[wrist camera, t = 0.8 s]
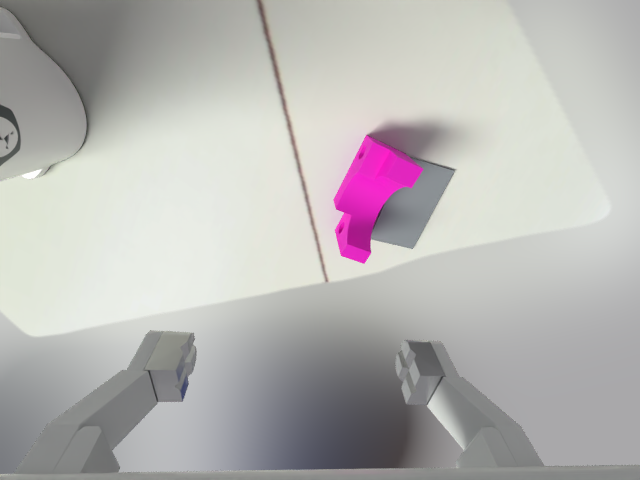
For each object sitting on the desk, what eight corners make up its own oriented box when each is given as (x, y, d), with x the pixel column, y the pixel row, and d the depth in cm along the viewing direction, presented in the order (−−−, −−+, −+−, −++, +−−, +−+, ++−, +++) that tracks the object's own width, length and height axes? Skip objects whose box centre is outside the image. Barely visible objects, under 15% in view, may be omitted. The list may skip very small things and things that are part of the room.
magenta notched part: (366, 134, 41) (379, 148, 34) (404, 152, 42) (423, 169, 36) (320, 224, 47) (324, 250, 41) (355, 237, 49) (364, 263, 43)
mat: (368, 237, 49) (369, 238, 49) (405, 155, 42) (405, 156, 42) (412, 247, 51) (412, 248, 50) (453, 170, 44) (454, 171, 44)
